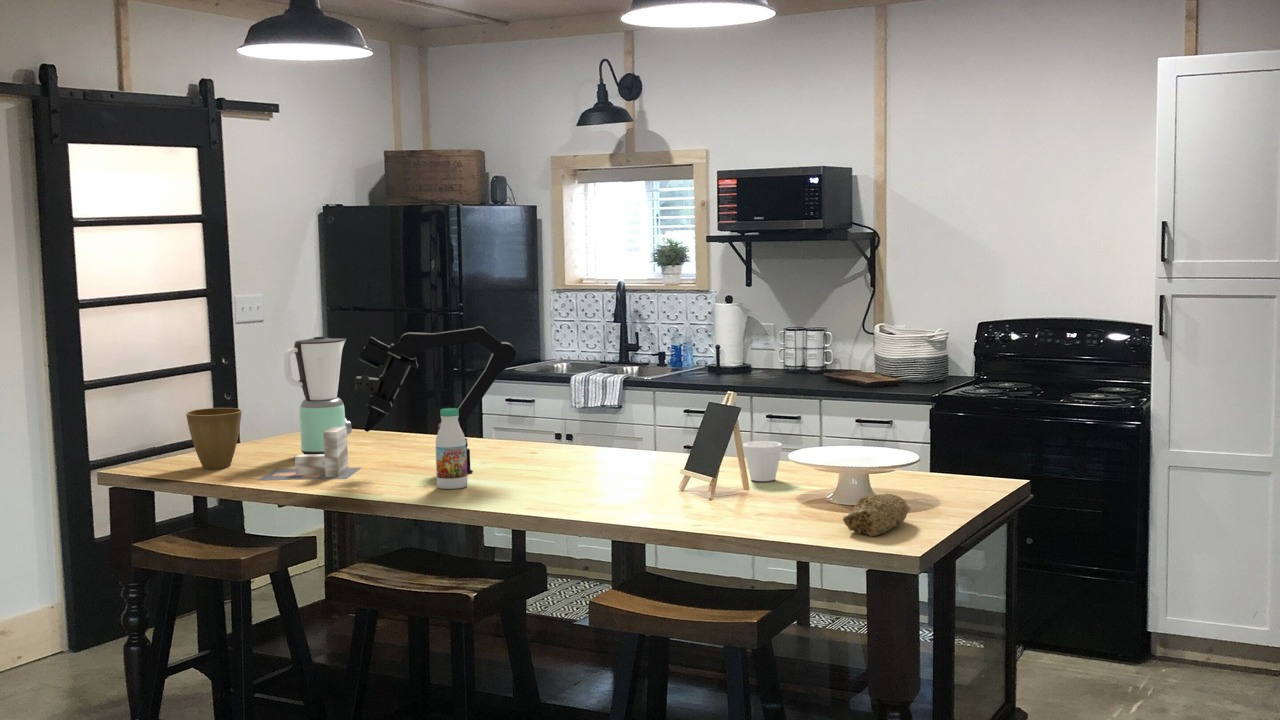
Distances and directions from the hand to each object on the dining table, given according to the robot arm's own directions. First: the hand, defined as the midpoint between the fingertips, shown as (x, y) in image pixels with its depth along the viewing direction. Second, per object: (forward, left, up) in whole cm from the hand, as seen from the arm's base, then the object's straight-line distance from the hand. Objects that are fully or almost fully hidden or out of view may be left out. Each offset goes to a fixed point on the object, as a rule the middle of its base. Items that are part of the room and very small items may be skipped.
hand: (367, 428), depth 336 cm
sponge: (-75, +120, -13) cm, 142 cm away
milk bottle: (-14, +26, -13) cm, 32 cm away
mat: (+13, -12, -13) cm, 22 cm away
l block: (+10, -11, -13) cm, 20 cm away
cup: (-83, +64, -13) cm, 106 cm away
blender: (+2, -42, -13) cm, 44 cm away
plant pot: (+32, -41, -13) cm, 54 cm away
